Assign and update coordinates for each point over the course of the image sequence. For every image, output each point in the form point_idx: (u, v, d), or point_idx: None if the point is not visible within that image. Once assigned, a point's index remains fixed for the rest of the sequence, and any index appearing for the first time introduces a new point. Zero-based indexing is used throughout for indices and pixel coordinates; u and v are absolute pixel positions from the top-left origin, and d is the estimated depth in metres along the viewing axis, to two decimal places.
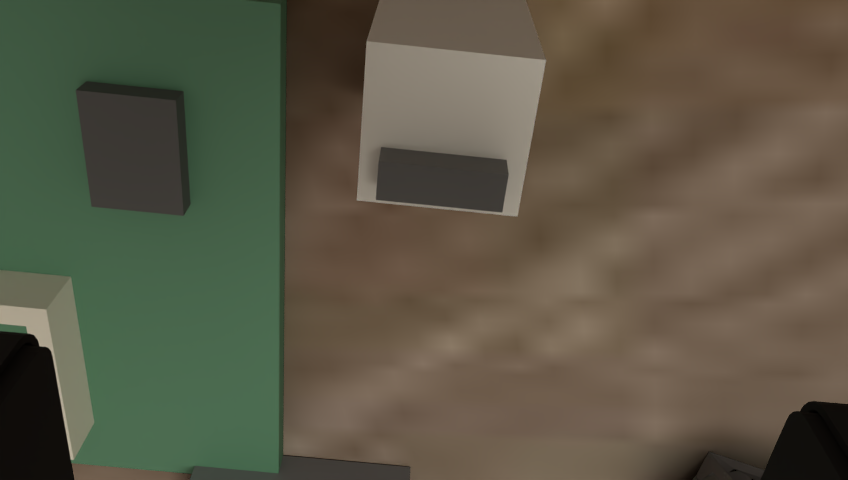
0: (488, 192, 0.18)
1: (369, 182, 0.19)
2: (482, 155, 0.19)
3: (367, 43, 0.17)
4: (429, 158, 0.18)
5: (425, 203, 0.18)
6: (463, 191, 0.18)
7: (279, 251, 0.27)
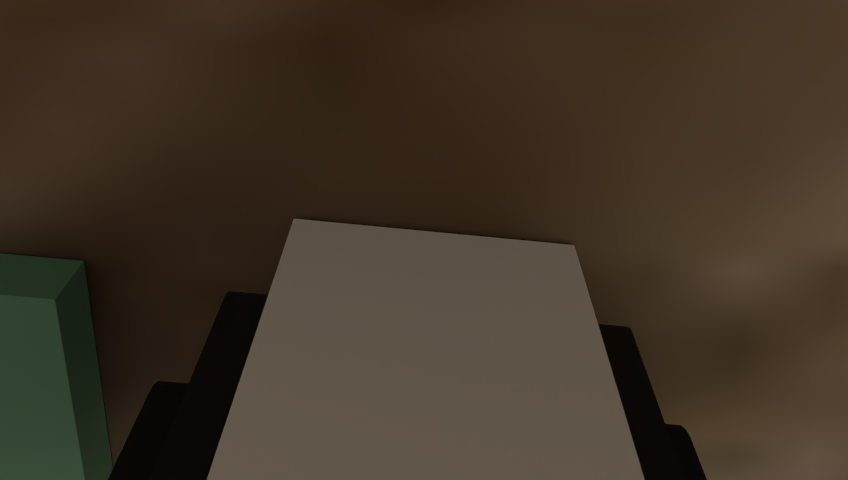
0: None
1: None
2: None
3: None
4: None
5: None
6: None
7: None
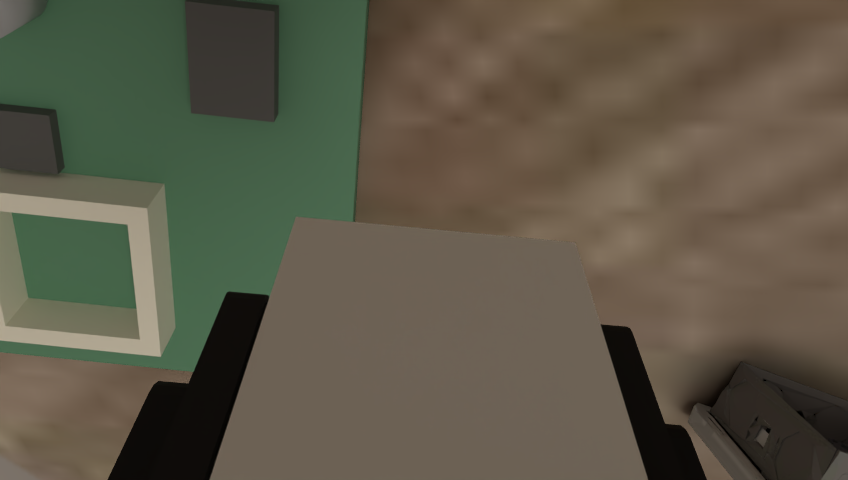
0: None
1: None
2: None
3: None
4: None
5: None
6: None
7: (356, 160, 0.30)
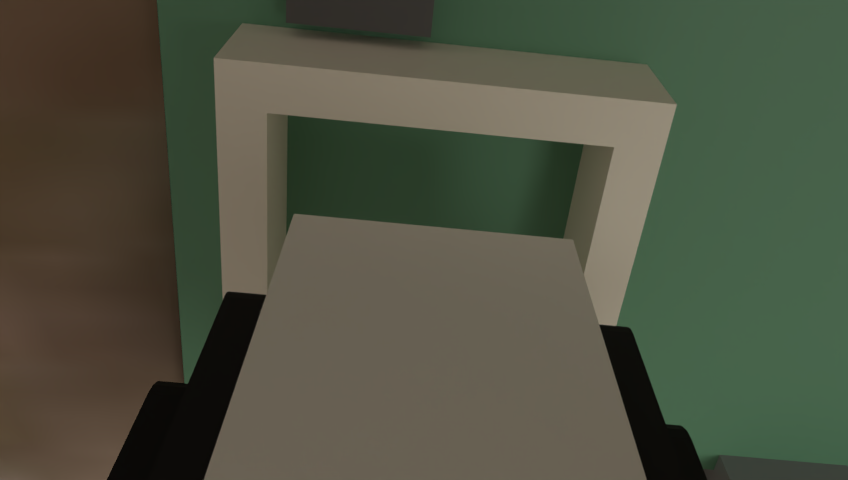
0: None
1: None
2: None
3: None
4: None
5: None
6: None
7: None
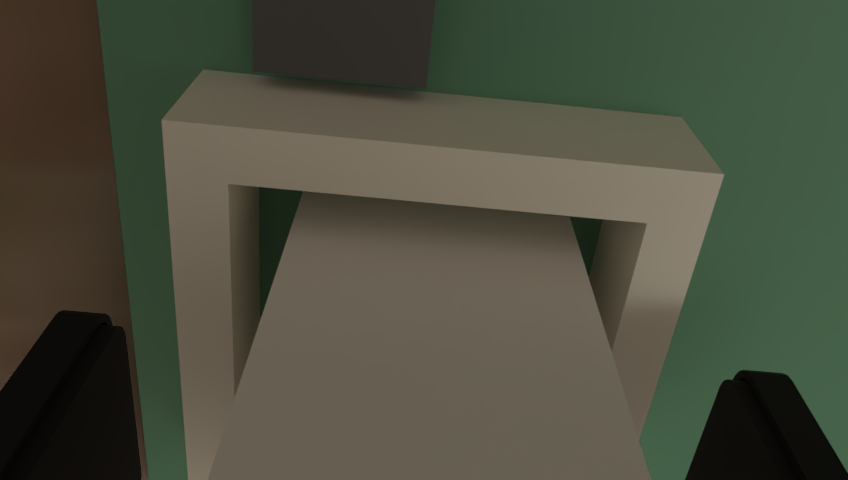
0: None
1: None
2: None
3: None
4: None
5: None
6: None
7: None
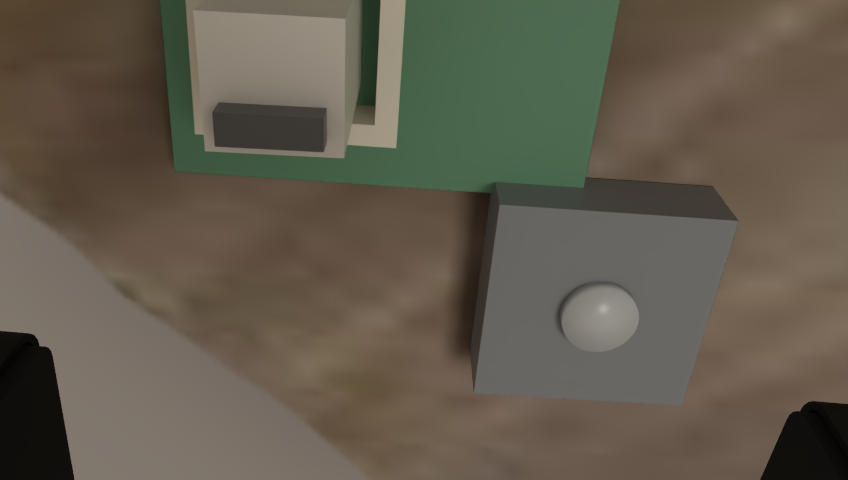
0: (309, 135, 0.21)
1: (213, 134, 0.22)
2: (306, 105, 0.22)
3: (193, 12, 0.21)
4: (258, 109, 0.21)
5: (257, 147, 0.22)
6: (287, 135, 0.21)
7: None
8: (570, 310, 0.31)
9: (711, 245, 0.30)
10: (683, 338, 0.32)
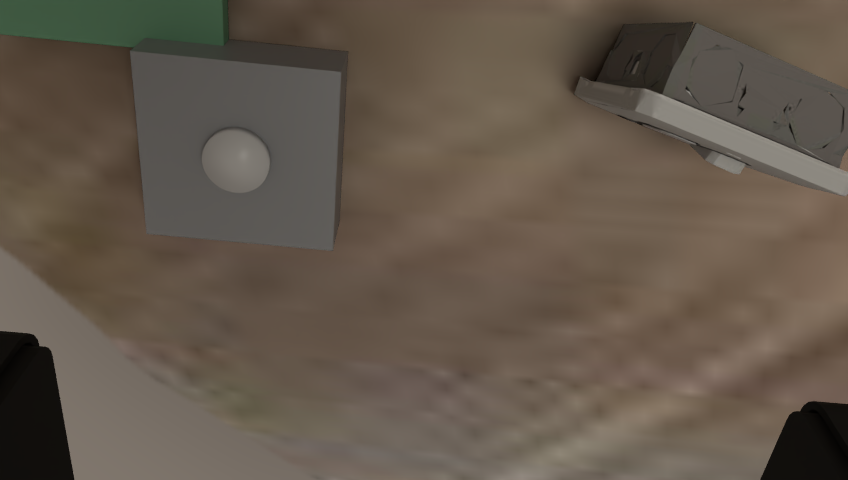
0: None
1: None
2: None
3: None
4: None
5: None
6: None
7: None
8: (206, 151, 0.35)
9: (323, 95, 0.34)
10: (318, 184, 0.36)
